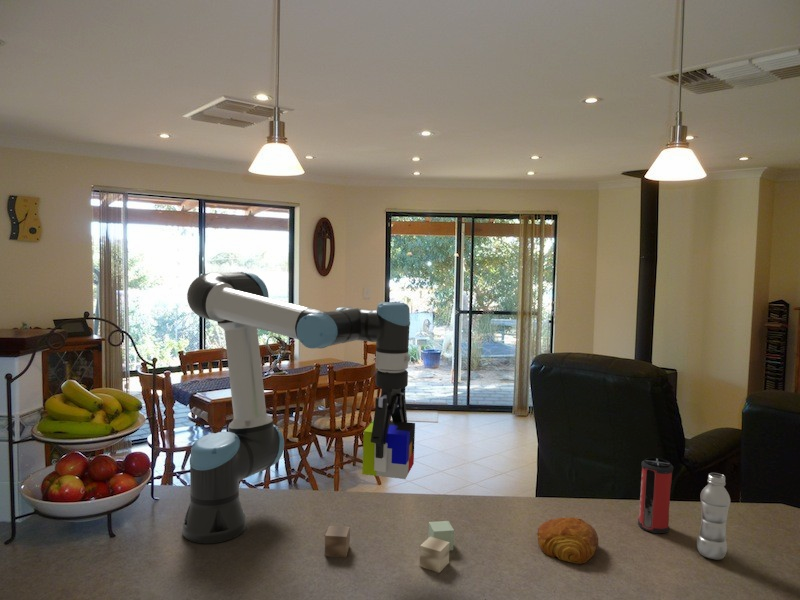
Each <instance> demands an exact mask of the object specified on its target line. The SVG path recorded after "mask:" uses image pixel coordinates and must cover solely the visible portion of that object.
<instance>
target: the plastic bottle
mask: <svg viewBox="0 0 800 600" xmlns="http://www.w3.org/2000/svg"><path fill="white" fill-rule="evenodd" d="M726 484H727V483H726V476H725V475H724V474H721V473H718V472H710V473H708V475H707V485H705V487H703V489H702V490H701V492H700V506H701V510H700V511H701V515H700V516H701V518H700V519H701V520H700V527H699V533H698V535H697V539H696V549H697V551H698V552H699V554H700V555H701V556H703V557H705V558H707V559H710V560H716V561H717V560H718V561H719V560H723V559H724V557H726V555H727V552H728V544H727V539H726V538H727V531H726V527H727V519H728V513H729V510H730V506H731V501H732V500H731V497H730V494H729V492H728V491H727V489H726V488H725V486H726Z"/></svg>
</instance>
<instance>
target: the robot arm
mask: <svg viewBox="0 0 800 600" xmlns="http://www.w3.org/2000/svg"><path fill="white" fill-rule="evenodd" d="M269 296H270V295H269V291H268V288H267V286H266V283H265V282H264V280H263V279H261V278H260V277H259V276H258V275H257V274H254V273H251V272H244V271H237V272H236V271H234V272H209V273H205V274H200V275H199V276H198V277H196V278H195V279H194V280H193V281H192V282H191V284H190V285H189V287H188V289H187V294H186V299H187V304H188V305H189V308H190V309H191V311H192V312H193V313H194V314H196V315H197V316H198V317H200V318H203V319H207V320H211V321H214V322H217V326H219V327H220V328H221V329H223V330H224V338H225V346H226V356H227V366H228V376H229V377H228V378H229V385H230V395H231V404H232V413H233V414H232V415H233V418H232V420H231V422H229V423H230V424H229V425H228V431H218V432H216V433H214V432H212V433H211V432H210V433H207V434H205V435H203V436H201V437H199V438H198V439H196V440H195V441H194V442H193V443H192V445H191V448H190V456H189V457H190V458H189V467H190V468H189V472H190V473H189V475H190V478H189V480H190V481H189V482H190V485H189V487H190V488H189V489H190V490H189V491H190V493H189V494H190V501H189V505H188V508H187V511H186V512H185V513H186V514H185V516H184V520H183V522H182V535H183V537H184V538H185V539H186V540H187V541H189V542H193V543H196V544H197V543H198V544H218V543H222V542H223V543H224V542H226V541H229V540H233V539H234V538H236V537H239V536H240V535H242V533H243V532H244V531H245V530H246V527H247V517H246V515H245V512H244V509H243V508H244V507H243V506H242V502H241V499H240V481H242V480H244V479H247V478H249V477H251V476H253V475H256V474H258V473H260V472H264V471H265V470H268V469H270V467H272V466H275V465H277V463H278V462H279V461H280V459H281V458H282V457H283V454H284V450H285V449H284V448H285V439H284V435H283V433H282V431H280V428H279V427H278V426H277V425H275V424H274V418H272V417H271V416H270V415H269V414H268V413H267V407H266V397H265V388H264V387H265V386H264V380H263V379H264V378H263V370H262V369H263V368H262V361H261V358H262V357H261V351H260V342H259V333H258V332H259V331H258V329H259V330H262V331H265V332H269V333H272V334H276V335H280V336H284V337H287V338H291V339H295V340H297V341H298V340H299V342H300V343H301V344H302V345H303V346H304V347H305V348H308V349H312V350H313V349H324V348H328V347H330V346H336V345H340V344H344V343H350V342H355V341H360V342H361V341H363V342H371V343H375V345H376V349H375V365H374V366H375V368H376V371H375V380H374V384H375V386H376V387H378V388H380V389H381V394H380V397H375V399H374V400H375V402H374V403H375V405H374V407H375V408H374V416H373V420H372V422H373V428H372V436H371V442H372V443H375V459H374V471H380V472H386V471H387V443H386V438H387V433H388V429H389V424H390V421H398V422H408V417H407V416H408V415H407V405H406V403H407V402H406V388H407V386H408V381H409V372H408V370H407V369H408V368H409V362H410V360H411V356H410V355H409V352H410V351H409V350H410V349H409V346H410V345H409V343H410V342H409V341H410V326H411V319H410V317H411V315H410V307H409V305H408V304H407V303H405V302H396V301H395V302H392V301H383V302H382V301H381V302H379V303H378V304H377V307H376V309H369V308H358V307H357V308H356V307H352V306H347V307H342V306H340V307H337V308H335V310H333V311H324V310H319V309H314V308H311V307H308V306H303V305H299V304H295V303H291V302H287V301H283V300H279V299H276V298H275V299H274V298H270V297H269ZM391 419H392V420H391ZM378 437H379V438H378Z"/></svg>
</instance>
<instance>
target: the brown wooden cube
mask: <svg viewBox="0 0 800 600" xmlns="http://www.w3.org/2000/svg"><path fill="white" fill-rule="evenodd" d="M350 535H351V527H350V526H343V525H342V526H341V525H338V526H337V525H328V527H327V531H326V532H325V535H324V557H334V558H335V557H336V558H347V554H348V552H349V549H350V541H351V540H350V538H351V537H350Z"/></svg>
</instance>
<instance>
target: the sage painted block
mask: <svg viewBox="0 0 800 600" xmlns="http://www.w3.org/2000/svg"><path fill="white" fill-rule="evenodd" d="M427 533H428V536H427V539H428V538H429V537H433V538H437V539H440V540H444V541H447V542H450V545H449V551H454V538H455V529H454V528H453V526H452V525H451V523H450V521H449V520H442V521H429V522H428V531H427Z"/></svg>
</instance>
